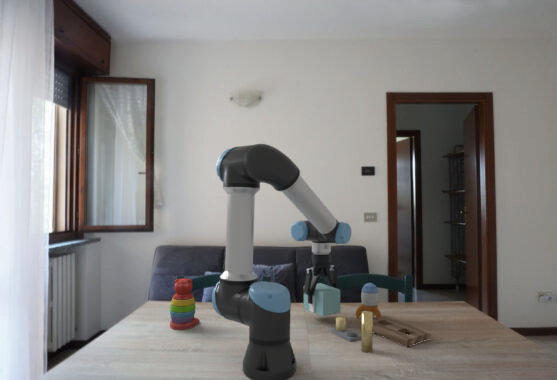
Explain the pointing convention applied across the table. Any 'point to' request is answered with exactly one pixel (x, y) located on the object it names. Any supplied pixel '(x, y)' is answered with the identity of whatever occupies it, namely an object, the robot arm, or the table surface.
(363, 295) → the toy rocket
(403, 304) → the table surface
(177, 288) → the stacking bear
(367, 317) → the peg
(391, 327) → the board
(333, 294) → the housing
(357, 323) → the table surface
